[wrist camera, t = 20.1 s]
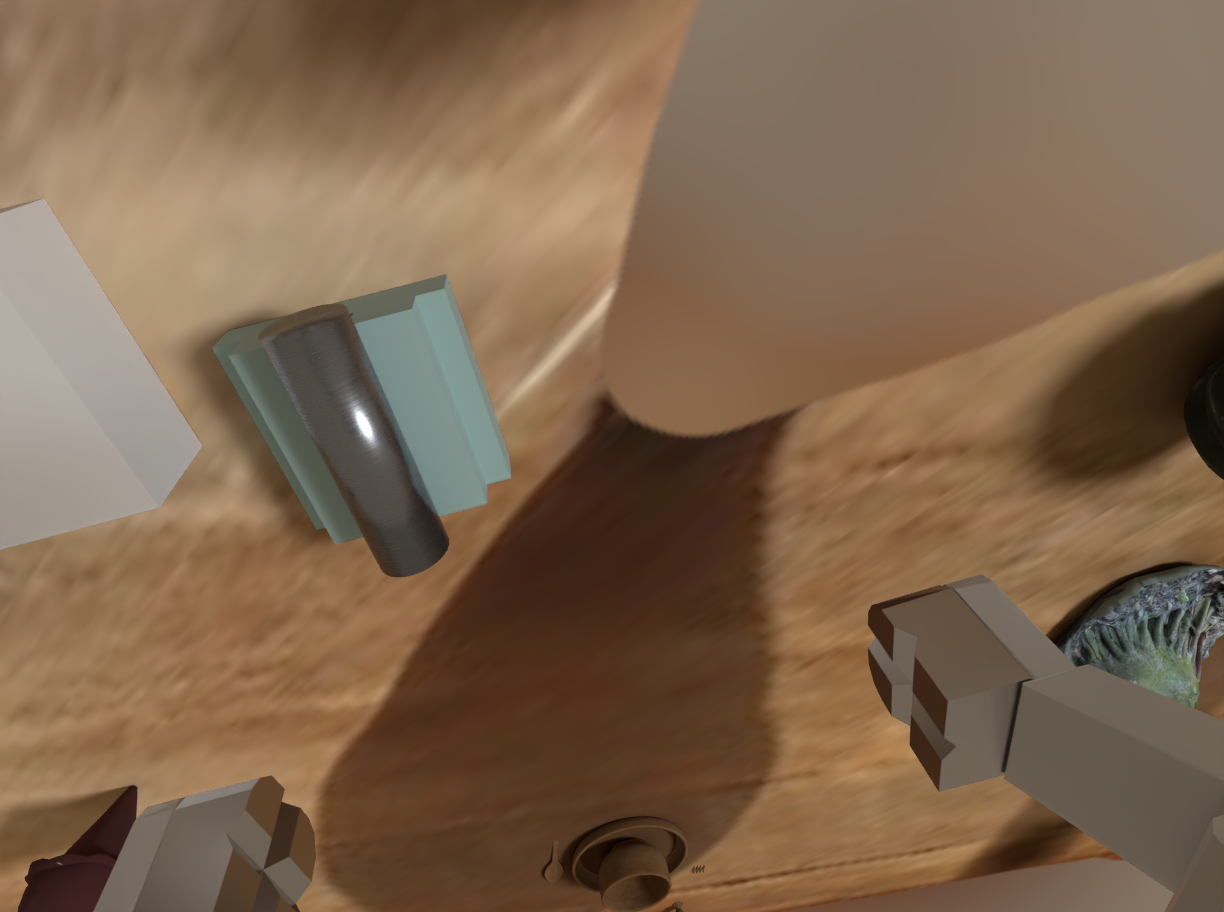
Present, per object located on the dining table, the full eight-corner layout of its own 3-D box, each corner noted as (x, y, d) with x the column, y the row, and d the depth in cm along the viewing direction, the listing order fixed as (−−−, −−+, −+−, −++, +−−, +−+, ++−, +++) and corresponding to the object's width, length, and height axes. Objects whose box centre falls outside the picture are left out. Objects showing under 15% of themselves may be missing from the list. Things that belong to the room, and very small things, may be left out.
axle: (276, 315, 32) (243, 348, 29) (356, 297, 32) (332, 328, 29) (388, 536, 40) (372, 583, 36) (453, 522, 39) (443, 568, 36)
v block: (227, 330, 36) (197, 364, 32) (446, 274, 36) (442, 301, 32) (324, 506, 42) (309, 551, 38) (509, 456, 43) (512, 496, 39)
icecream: (92, 748, 50) (-41, 988, 37) (199, 770, 53) (110, 998, 40) (67, 803, 52) (-67, 1045, 39) (171, 821, 55) (78, 1051, 42)
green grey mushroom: (1269, 614, 64) (1394, 823, 53) (1045, 662, 76) (1109, 842, 65) (1223, 536, 55) (1362, 771, 44) (975, 605, 67) (1035, 804, 56)
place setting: (720, 800, 68) (739, 859, 63) (690, 904, 78) (705, 962, 73) (547, 819, 64) (552, 883, 59) (539, 925, 74) (543, 987, 69)
